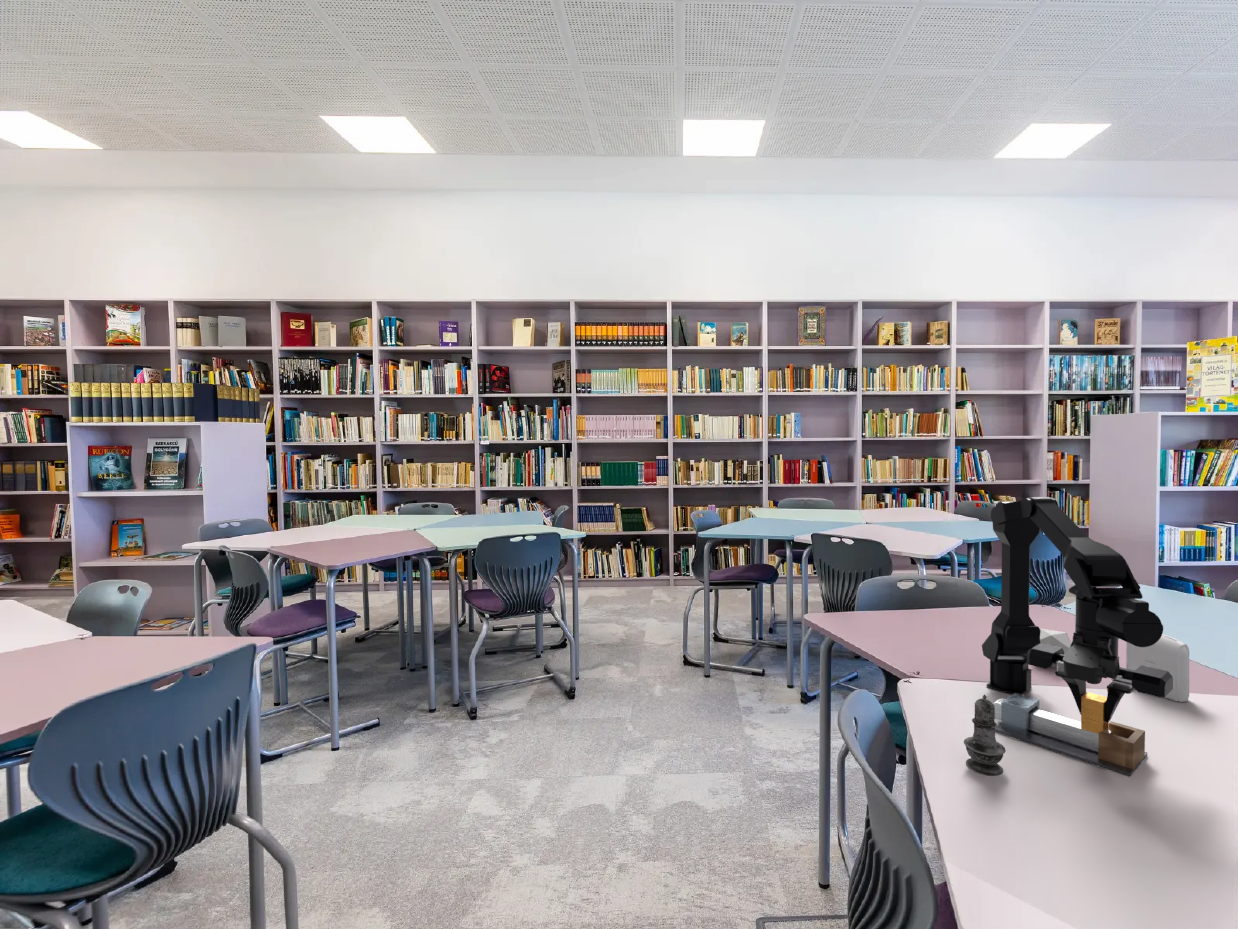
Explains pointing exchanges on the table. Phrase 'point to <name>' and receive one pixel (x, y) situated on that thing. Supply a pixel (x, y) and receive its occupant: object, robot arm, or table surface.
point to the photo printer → (1164, 663)
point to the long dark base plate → (1017, 727)
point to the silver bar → (1070, 722)
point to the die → (1055, 640)
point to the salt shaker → (984, 741)
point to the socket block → (1122, 745)
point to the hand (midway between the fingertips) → (1095, 718)
